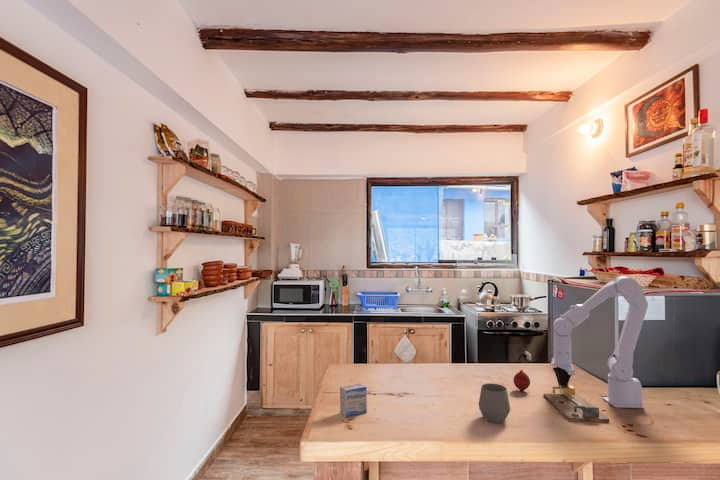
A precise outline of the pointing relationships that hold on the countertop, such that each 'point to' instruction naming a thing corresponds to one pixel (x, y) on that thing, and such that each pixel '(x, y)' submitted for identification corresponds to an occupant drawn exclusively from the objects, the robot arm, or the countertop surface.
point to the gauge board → (576, 408)
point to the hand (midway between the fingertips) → (563, 388)
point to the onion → (521, 380)
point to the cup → (494, 402)
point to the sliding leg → (565, 389)
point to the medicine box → (353, 400)
